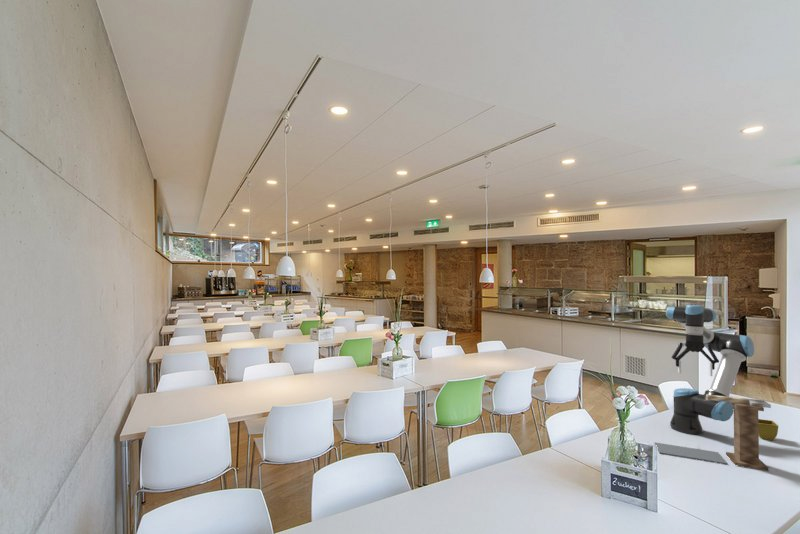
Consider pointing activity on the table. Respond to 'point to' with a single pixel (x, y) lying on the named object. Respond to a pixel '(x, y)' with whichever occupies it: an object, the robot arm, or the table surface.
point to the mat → (690, 453)
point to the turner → (739, 400)
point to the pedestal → (746, 437)
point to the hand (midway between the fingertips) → (694, 374)
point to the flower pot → (767, 429)
